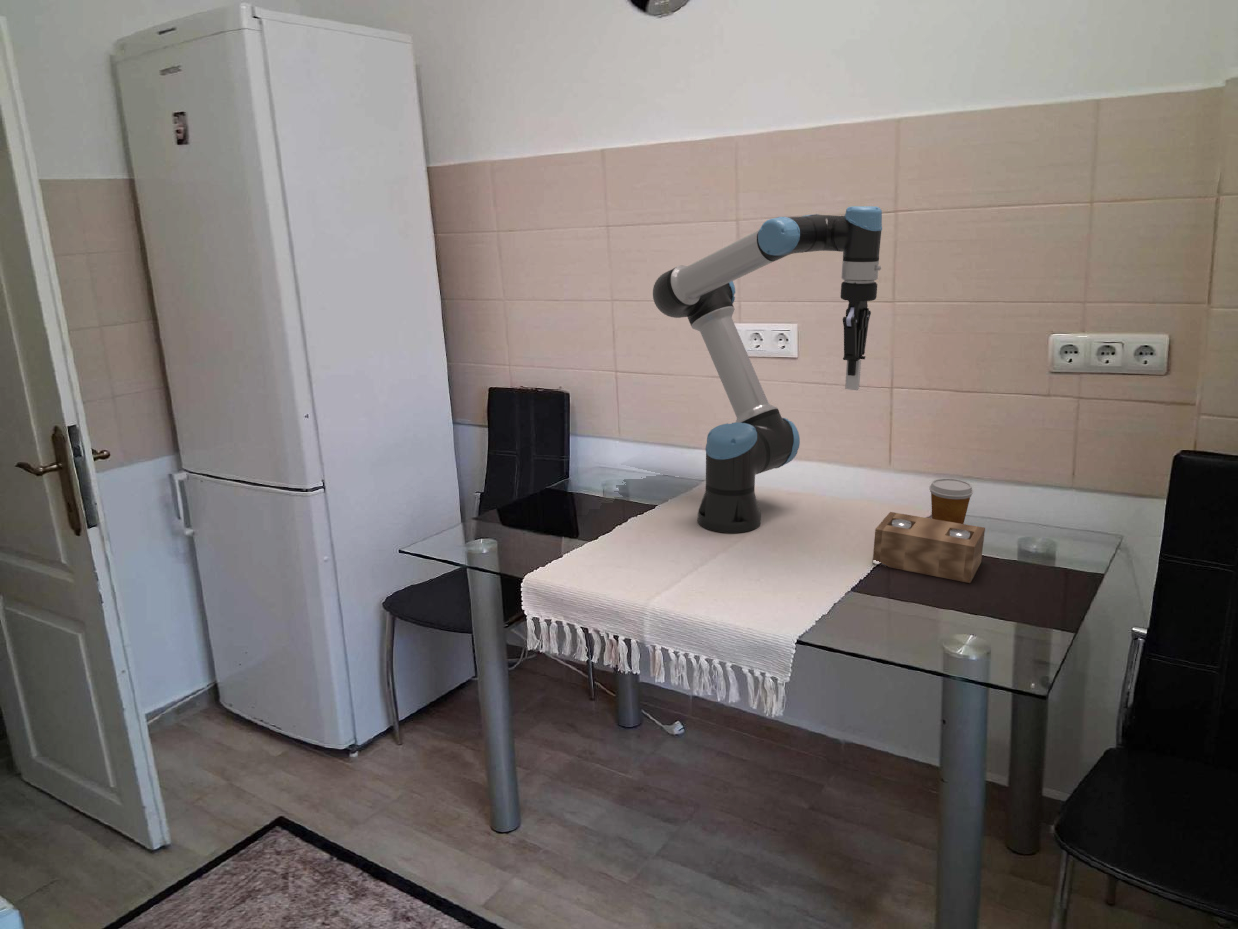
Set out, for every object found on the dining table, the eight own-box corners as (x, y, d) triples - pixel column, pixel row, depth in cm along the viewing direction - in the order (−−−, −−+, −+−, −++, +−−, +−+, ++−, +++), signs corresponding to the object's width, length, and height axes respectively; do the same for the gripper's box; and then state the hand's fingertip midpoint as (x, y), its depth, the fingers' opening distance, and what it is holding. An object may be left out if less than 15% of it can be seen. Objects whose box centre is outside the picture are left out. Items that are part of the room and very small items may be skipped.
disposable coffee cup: (966, 527, 215) (971, 479, 211) (970, 542, 206) (975, 492, 202) (924, 524, 217) (928, 476, 214) (925, 538, 208) (930, 489, 205)
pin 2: (944, 566, 191) (947, 534, 189) (948, 560, 195) (951, 527, 192) (964, 570, 189) (968, 537, 187) (968, 563, 193) (971, 531, 190)
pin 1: (887, 555, 197) (889, 523, 195) (891, 549, 200) (894, 518, 198) (905, 559, 195) (908, 527, 193) (910, 553, 198) (913, 521, 196)
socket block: (872, 563, 195) (875, 529, 193) (887, 545, 205) (890, 511, 203) (970, 583, 185) (974, 546, 183) (980, 562, 195) (985, 527, 193)
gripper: (868, 284, 187) (860, 396, 194) (885, 278, 198) (877, 385, 205) (832, 283, 191) (826, 393, 198) (851, 277, 202) (844, 381, 209)
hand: (852, 388), depth 202 cm, fingers closed
